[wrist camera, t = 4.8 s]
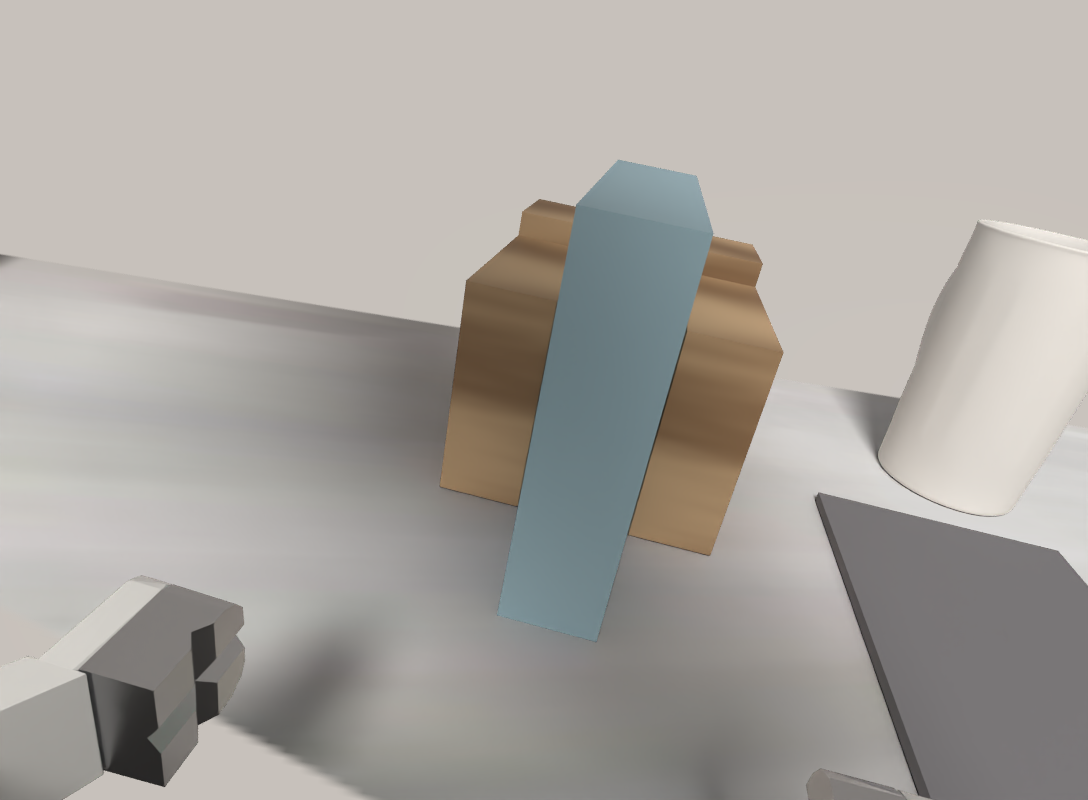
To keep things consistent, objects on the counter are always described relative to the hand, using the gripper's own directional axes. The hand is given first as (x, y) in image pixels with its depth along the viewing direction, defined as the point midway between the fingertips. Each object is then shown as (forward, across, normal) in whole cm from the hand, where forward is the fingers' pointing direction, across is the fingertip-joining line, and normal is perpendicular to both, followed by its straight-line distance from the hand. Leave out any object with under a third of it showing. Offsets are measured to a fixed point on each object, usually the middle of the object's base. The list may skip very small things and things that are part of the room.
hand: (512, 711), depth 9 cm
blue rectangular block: (+14, 0, +6) cm, 16 cm away
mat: (+13, -15, +6) cm, 21 cm away
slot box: (+20, 0, +6) cm, 21 cm away
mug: (+27, -17, +7) cm, 32 cm away
